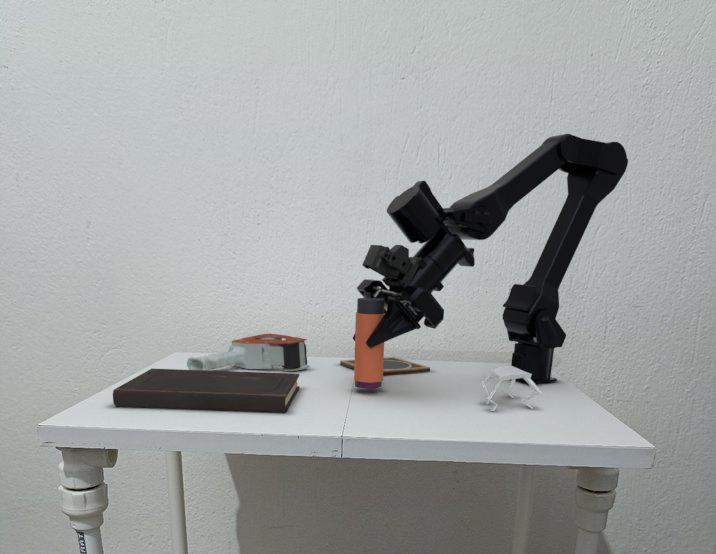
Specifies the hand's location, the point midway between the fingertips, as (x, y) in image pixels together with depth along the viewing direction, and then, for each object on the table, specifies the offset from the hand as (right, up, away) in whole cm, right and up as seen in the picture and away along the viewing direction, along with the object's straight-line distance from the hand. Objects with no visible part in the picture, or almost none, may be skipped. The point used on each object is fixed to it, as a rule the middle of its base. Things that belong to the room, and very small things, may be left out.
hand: (361, 343), depth 99 cm
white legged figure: (+22, -9, -2) cm, 24 cm away
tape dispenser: (-19, -1, +19) cm, 27 cm away
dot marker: (+1, -6, +3) cm, 7 cm away
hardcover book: (-21, -9, -4) cm, 23 cm away
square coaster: (+4, 0, +22) cm, 23 cm away
